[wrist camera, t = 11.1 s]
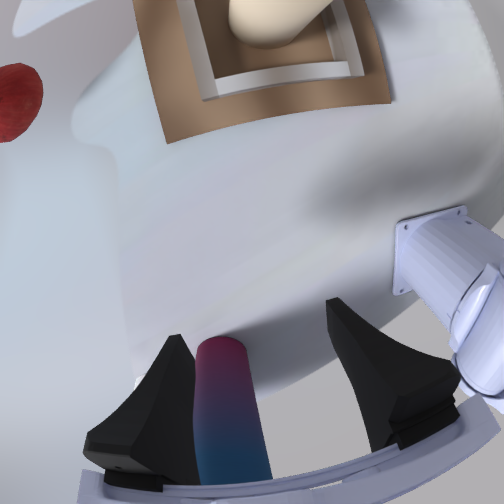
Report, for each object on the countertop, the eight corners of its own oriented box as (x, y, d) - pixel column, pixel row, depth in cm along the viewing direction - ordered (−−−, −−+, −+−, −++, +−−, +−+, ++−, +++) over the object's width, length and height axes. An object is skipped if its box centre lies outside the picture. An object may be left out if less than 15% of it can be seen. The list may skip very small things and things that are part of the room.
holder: (339, -43, 10) (353, -58, 7) (384, 103, 17) (406, 103, 14) (132, -16, 11) (120, -31, 8) (170, 142, 17) (160, 147, 14)
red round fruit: (43, 146, 16) (-26, 170, 8) (5, 121, 14) (-60, 138, 7) (73, 79, 14) (5, 71, 7) (31, 59, 12) (-34, 53, 5)
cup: (191, 324, 24) (179, 484, 11) (263, 334, 26) (289, 485, 12) (185, 369, 27) (178, 499, 14) (246, 375, 29) (261, 502, 15)
